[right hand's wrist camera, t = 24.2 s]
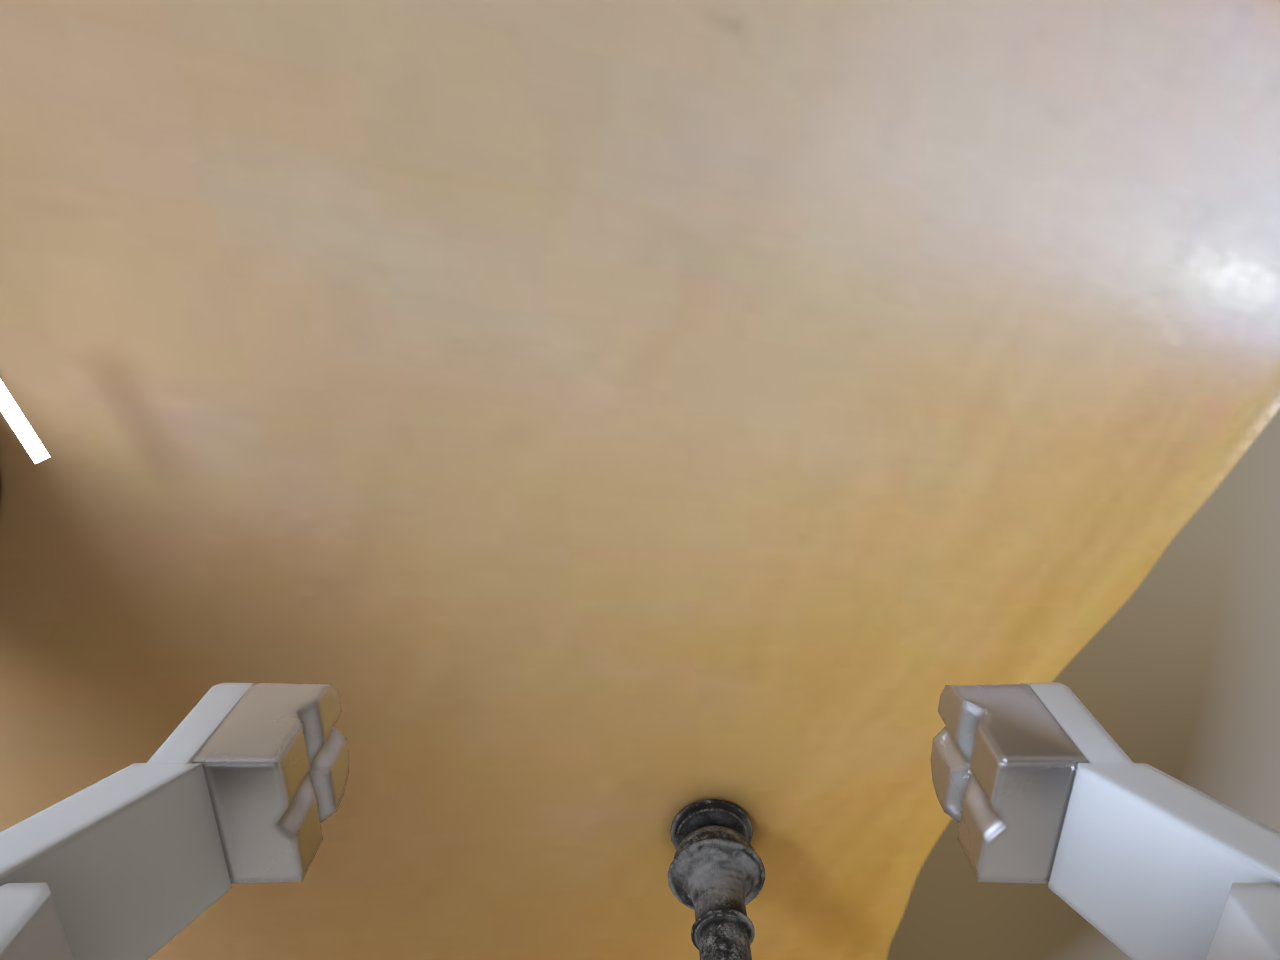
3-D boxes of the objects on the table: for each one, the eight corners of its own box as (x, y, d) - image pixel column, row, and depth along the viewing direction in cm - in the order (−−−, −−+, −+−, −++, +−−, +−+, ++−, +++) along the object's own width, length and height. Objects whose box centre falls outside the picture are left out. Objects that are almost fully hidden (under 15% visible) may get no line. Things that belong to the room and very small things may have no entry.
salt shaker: (761, 797, 50) (796, 976, 38) (752, 867, 52) (783, 1057, 41) (668, 794, 50) (677, 972, 38) (663, 865, 52) (670, 1054, 40)
